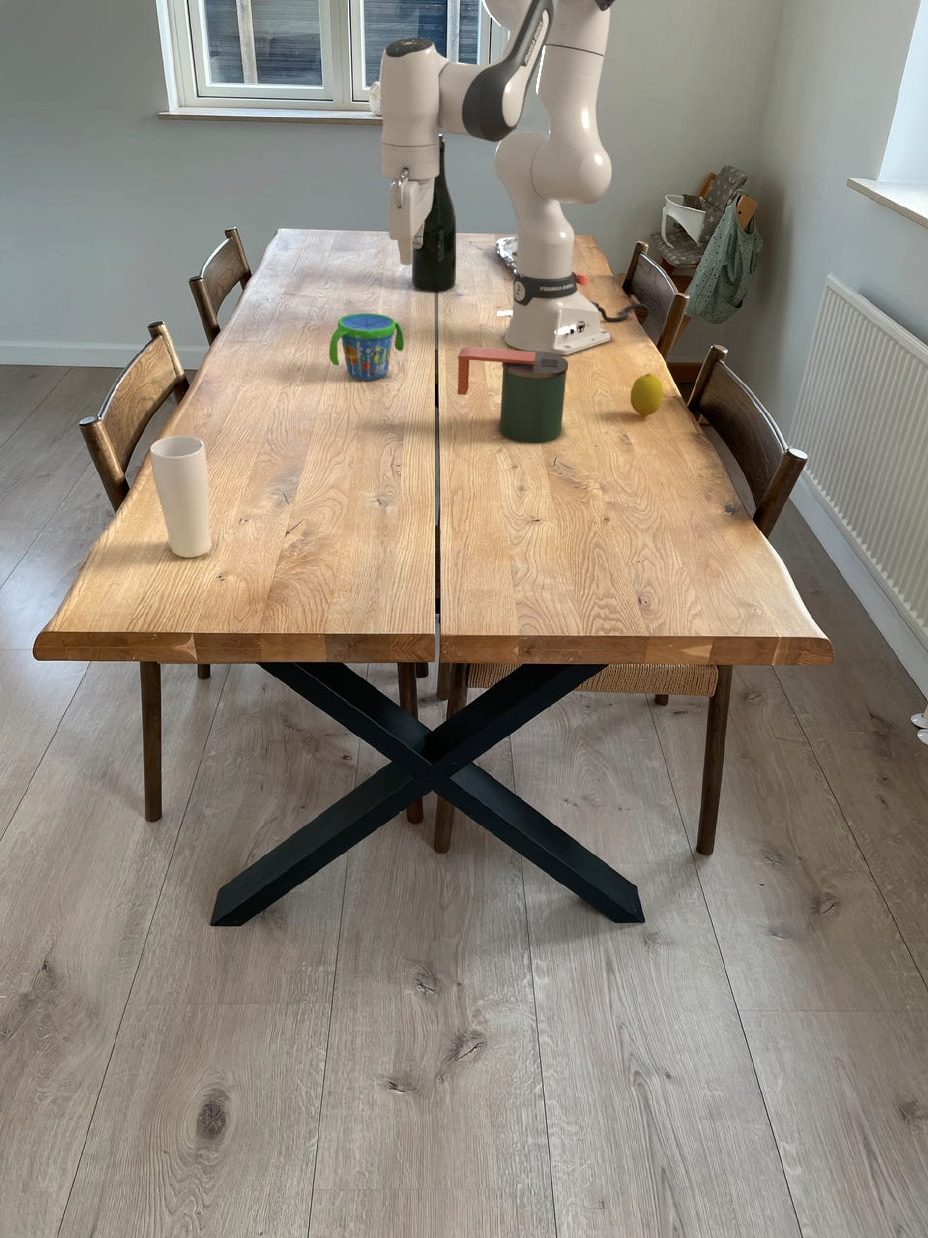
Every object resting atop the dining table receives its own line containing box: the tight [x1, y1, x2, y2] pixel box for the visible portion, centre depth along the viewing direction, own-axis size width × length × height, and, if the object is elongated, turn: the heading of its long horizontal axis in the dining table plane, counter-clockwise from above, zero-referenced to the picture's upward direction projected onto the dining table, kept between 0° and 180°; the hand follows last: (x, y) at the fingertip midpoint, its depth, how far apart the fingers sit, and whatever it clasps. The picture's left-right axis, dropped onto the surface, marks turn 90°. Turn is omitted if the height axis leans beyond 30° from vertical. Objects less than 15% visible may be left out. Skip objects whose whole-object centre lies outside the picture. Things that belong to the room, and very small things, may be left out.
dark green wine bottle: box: [411, 133, 457, 292], centre depth 228 cm, size 10×10×33 cm
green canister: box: [499, 351, 569, 444], centre depth 166 cm, size 11×11×12 cm
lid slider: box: [457, 346, 536, 396], centre depth 164 cm, size 12×4×7 cm, turn 83°
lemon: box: [630, 372, 664, 418], centre depth 173 cm, size 6×6×8 cm
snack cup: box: [328, 312, 405, 381], centre depth 186 cm, size 16×10×10 cm
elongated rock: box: [495, 236, 518, 277], centre depth 254 cm, size 35×5×10 cm
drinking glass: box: [149, 435, 213, 559], centre depth 129 cm, size 7×7×15 cm
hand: (411, 255), depth 160 cm, fingers open, 8 cm apart
